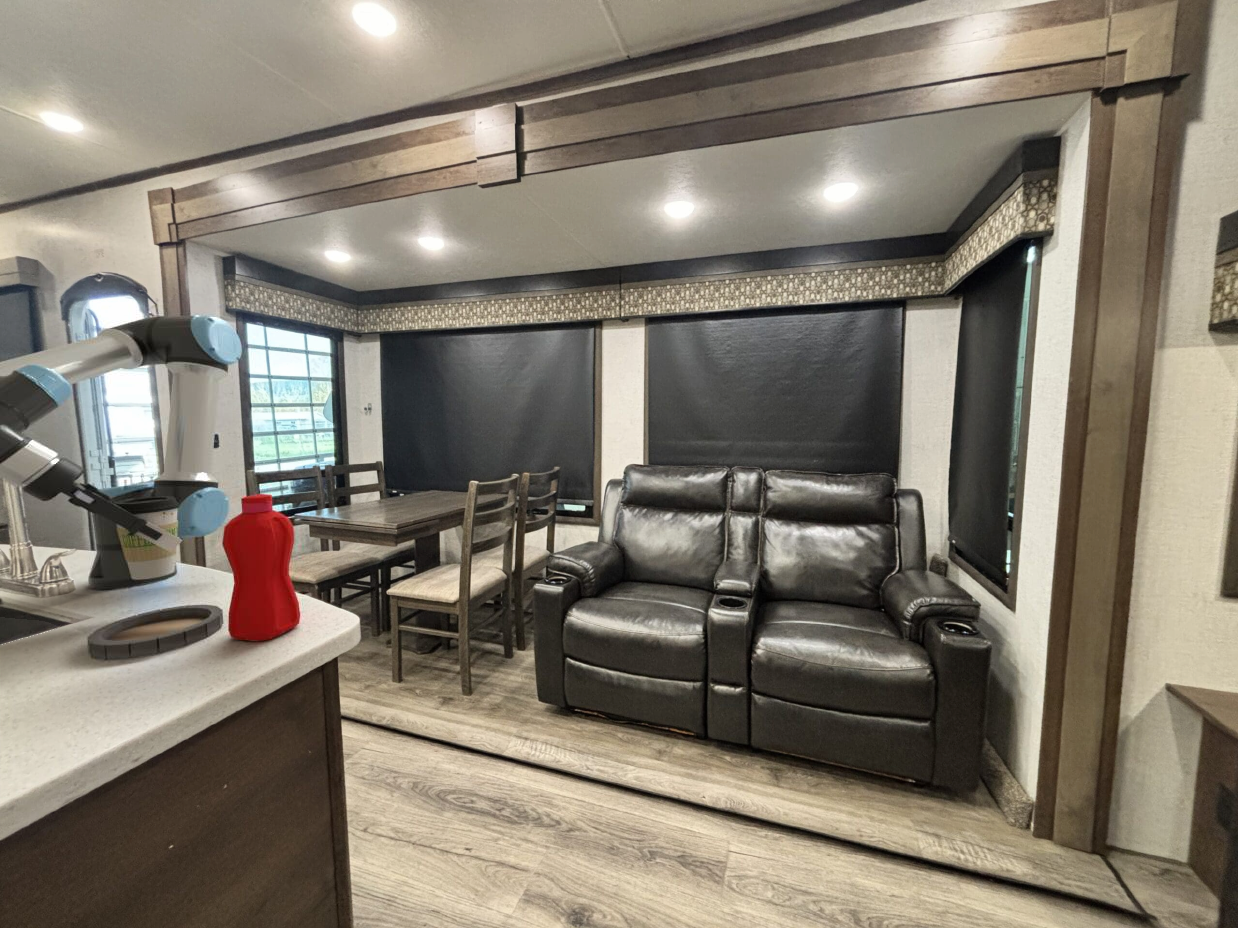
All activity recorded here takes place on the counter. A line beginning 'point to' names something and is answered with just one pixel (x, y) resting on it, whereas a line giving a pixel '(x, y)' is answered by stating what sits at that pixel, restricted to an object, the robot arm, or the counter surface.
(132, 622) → the round tray
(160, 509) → the coffee cup
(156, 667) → the counter surface
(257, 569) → the red curved bottle
